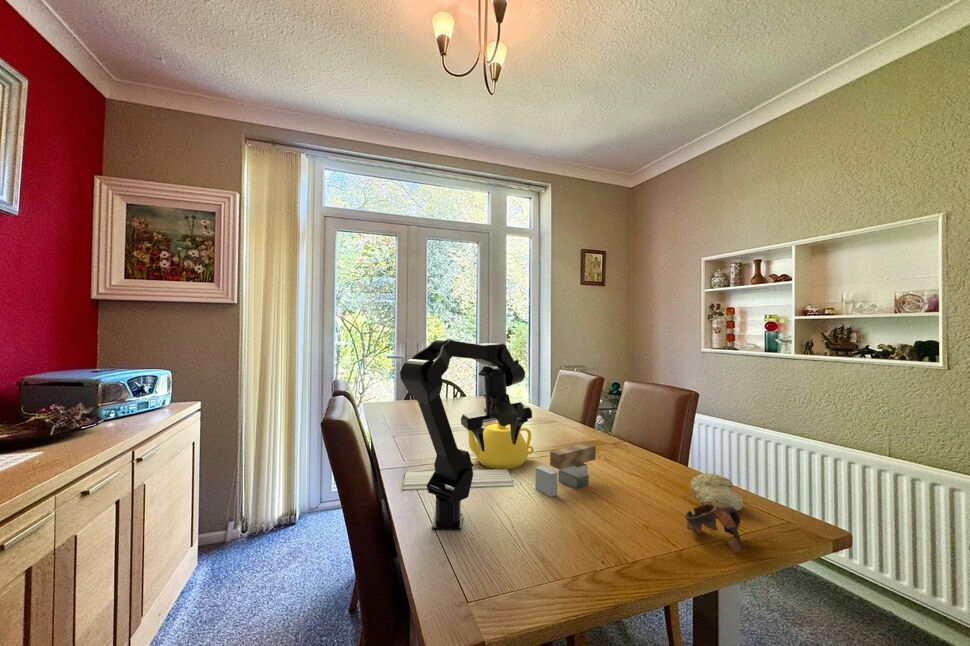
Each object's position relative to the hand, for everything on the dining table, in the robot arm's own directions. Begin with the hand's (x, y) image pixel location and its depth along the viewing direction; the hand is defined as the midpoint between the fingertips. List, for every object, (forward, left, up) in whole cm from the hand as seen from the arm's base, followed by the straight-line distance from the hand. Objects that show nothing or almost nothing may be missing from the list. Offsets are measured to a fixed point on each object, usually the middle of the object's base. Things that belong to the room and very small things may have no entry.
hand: (498, 447), depth 99 cm
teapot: (+26, 0, -13) cm, 29 cm away
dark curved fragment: (-19, -46, -13) cm, 52 cm away
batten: (+9, -22, -7) cm, 24 cm away
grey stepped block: (+9, -22, -13) cm, 27 cm away
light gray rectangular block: (+3, -13, -13) cm, 18 cm away
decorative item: (-2, -56, -13) cm, 57 cm away
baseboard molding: (+8, +12, -13) cm, 20 cm away
